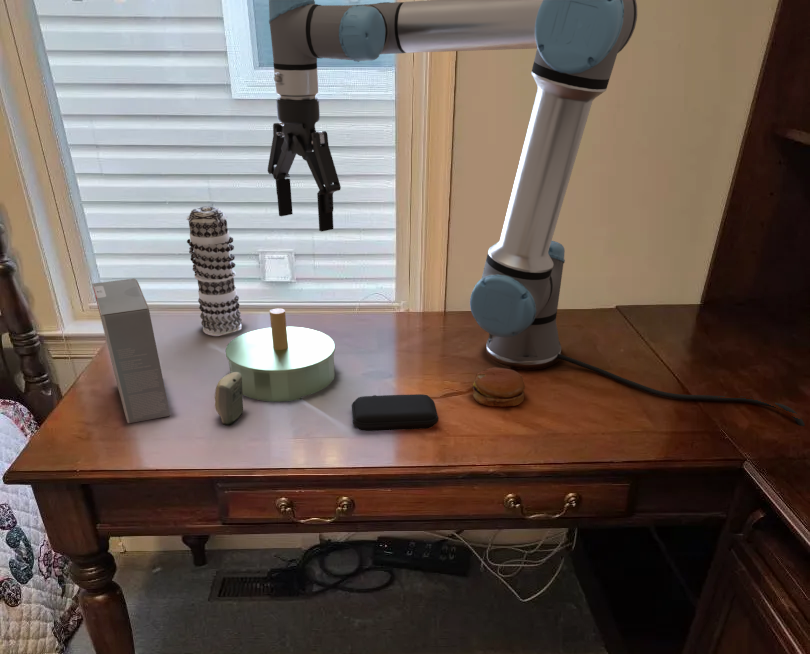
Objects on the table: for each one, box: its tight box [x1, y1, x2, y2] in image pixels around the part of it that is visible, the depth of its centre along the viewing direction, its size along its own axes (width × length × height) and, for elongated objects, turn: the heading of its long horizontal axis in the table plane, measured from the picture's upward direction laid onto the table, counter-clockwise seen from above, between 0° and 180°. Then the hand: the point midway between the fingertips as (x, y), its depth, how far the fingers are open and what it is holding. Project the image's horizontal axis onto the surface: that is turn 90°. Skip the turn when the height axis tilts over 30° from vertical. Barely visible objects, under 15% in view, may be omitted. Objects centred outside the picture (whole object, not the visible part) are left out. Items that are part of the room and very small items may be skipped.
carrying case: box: [351, 393, 439, 432], centre depth 132 cm, size 11×3×15 cm
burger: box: [472, 367, 526, 408], centre depth 138 cm, size 10×9×5 cm
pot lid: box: [225, 307, 336, 373], centre depth 140 cm, size 20×20×8 cm
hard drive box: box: [92, 278, 171, 424], centre depth 131 cm, size 16×8×20 cm, turn 23°
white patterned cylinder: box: [186, 205, 243, 337], centre depth 158 cm, size 9×9×25 cm
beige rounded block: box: [214, 372, 244, 427], centre depth 129 cm, size 6×5×8 cm
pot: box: [227, 353, 336, 403], centre depth 144 cm, size 20×20×6 cm
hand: (305, 222), depth 144 cm, fingers open, 13 cm apart
